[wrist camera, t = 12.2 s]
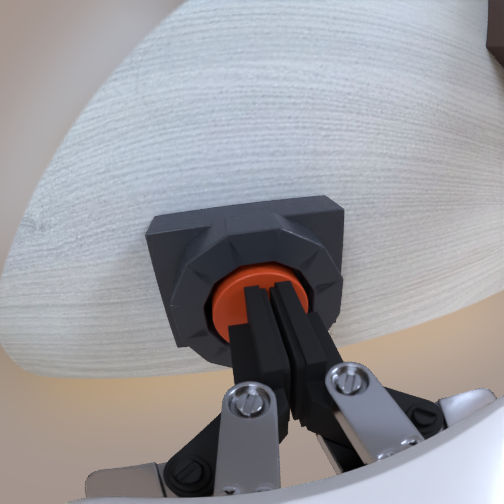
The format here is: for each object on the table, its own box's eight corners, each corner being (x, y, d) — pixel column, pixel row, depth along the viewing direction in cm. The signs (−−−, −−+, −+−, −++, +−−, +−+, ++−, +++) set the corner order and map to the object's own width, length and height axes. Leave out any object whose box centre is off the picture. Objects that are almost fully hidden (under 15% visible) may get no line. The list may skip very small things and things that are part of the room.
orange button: (218, 328, 13) (220, 355, 11) (204, 257, 11) (204, 280, 10) (296, 316, 13) (307, 341, 11) (296, 244, 11) (310, 265, 10)
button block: (180, 323, 15) (176, 379, 12) (152, 210, 12) (132, 247, 9) (321, 302, 16) (349, 350, 12) (325, 189, 13) (366, 217, 10)
